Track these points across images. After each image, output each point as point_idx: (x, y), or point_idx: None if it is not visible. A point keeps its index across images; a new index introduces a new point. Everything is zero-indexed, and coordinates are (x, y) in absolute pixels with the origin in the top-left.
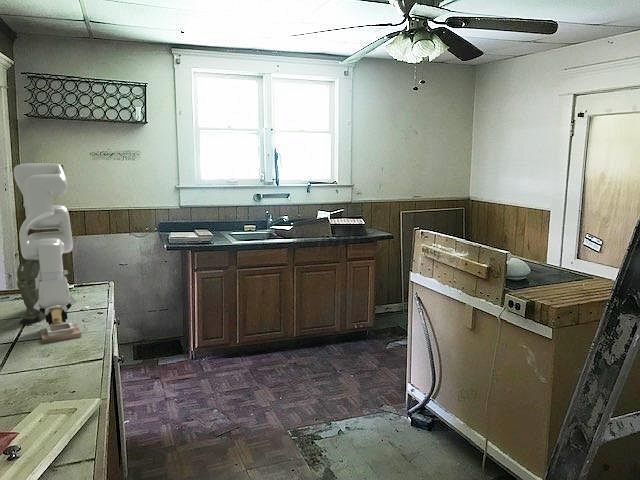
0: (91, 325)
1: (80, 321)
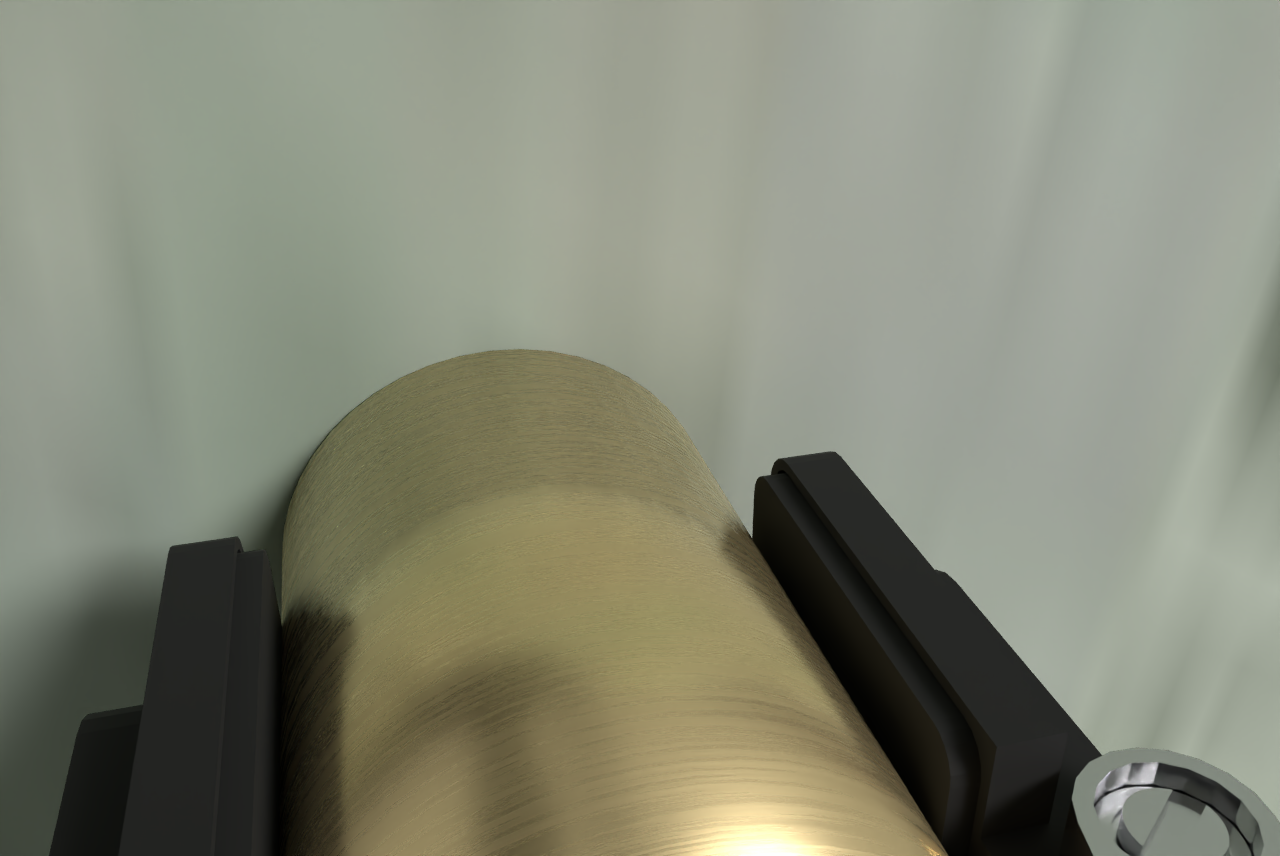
0: (1262, 772)
1: (1206, 341)
